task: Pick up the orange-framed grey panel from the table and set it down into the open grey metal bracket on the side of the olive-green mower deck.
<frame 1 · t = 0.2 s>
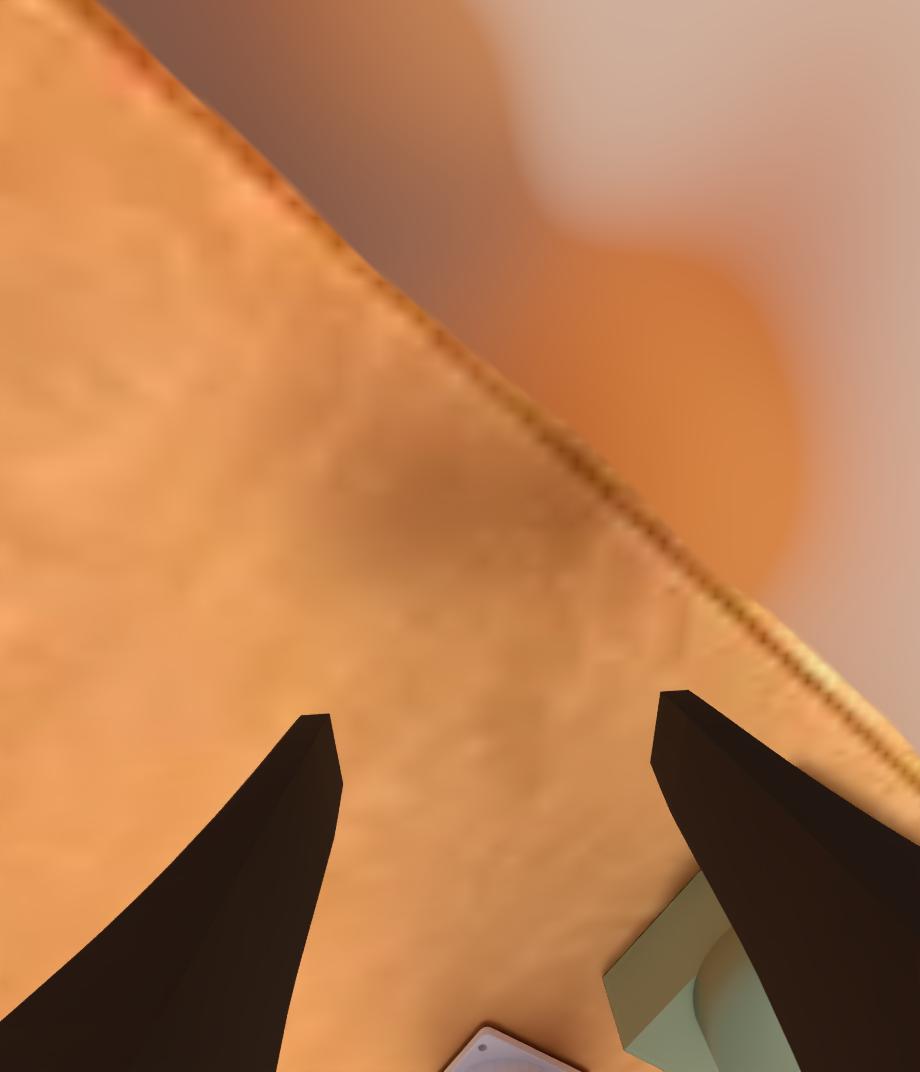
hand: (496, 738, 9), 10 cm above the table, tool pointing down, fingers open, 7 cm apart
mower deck: (824, 956, 24), on the table
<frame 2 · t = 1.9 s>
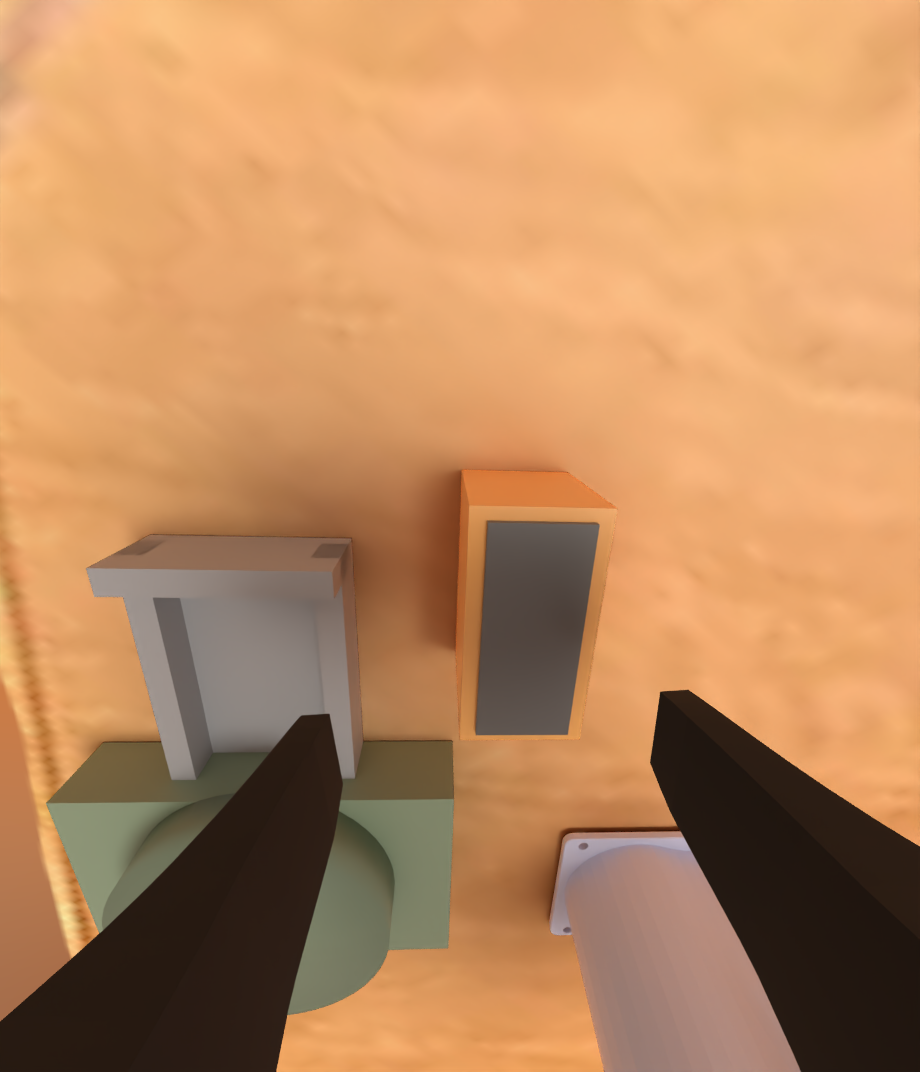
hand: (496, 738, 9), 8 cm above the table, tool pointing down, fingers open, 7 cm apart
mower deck: (281, 741, 20), on the table
orange-framed grey panel: (507, 567, 17), on the table
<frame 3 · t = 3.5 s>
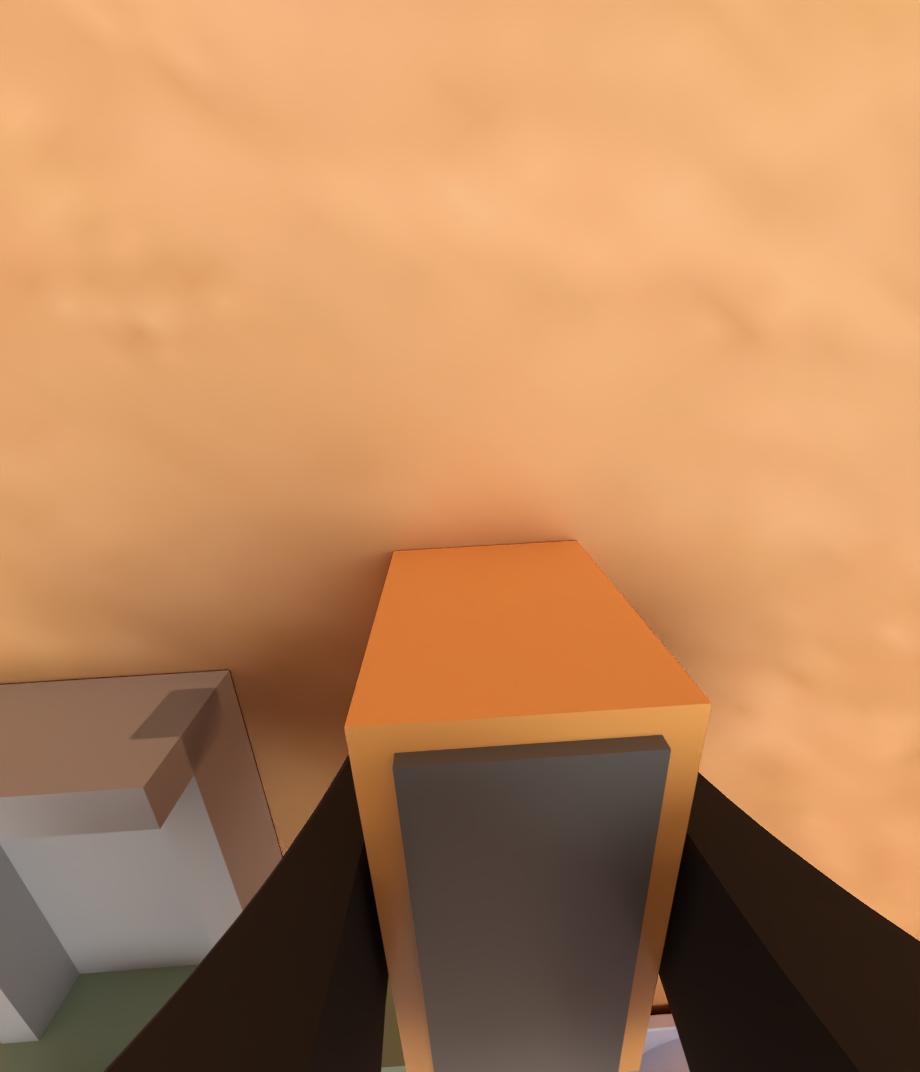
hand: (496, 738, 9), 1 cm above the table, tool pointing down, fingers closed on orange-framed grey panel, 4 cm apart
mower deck: (184, 942, 14), on the table
orange-framed grey panel: (489, 693, 11), on the table, touching gripper
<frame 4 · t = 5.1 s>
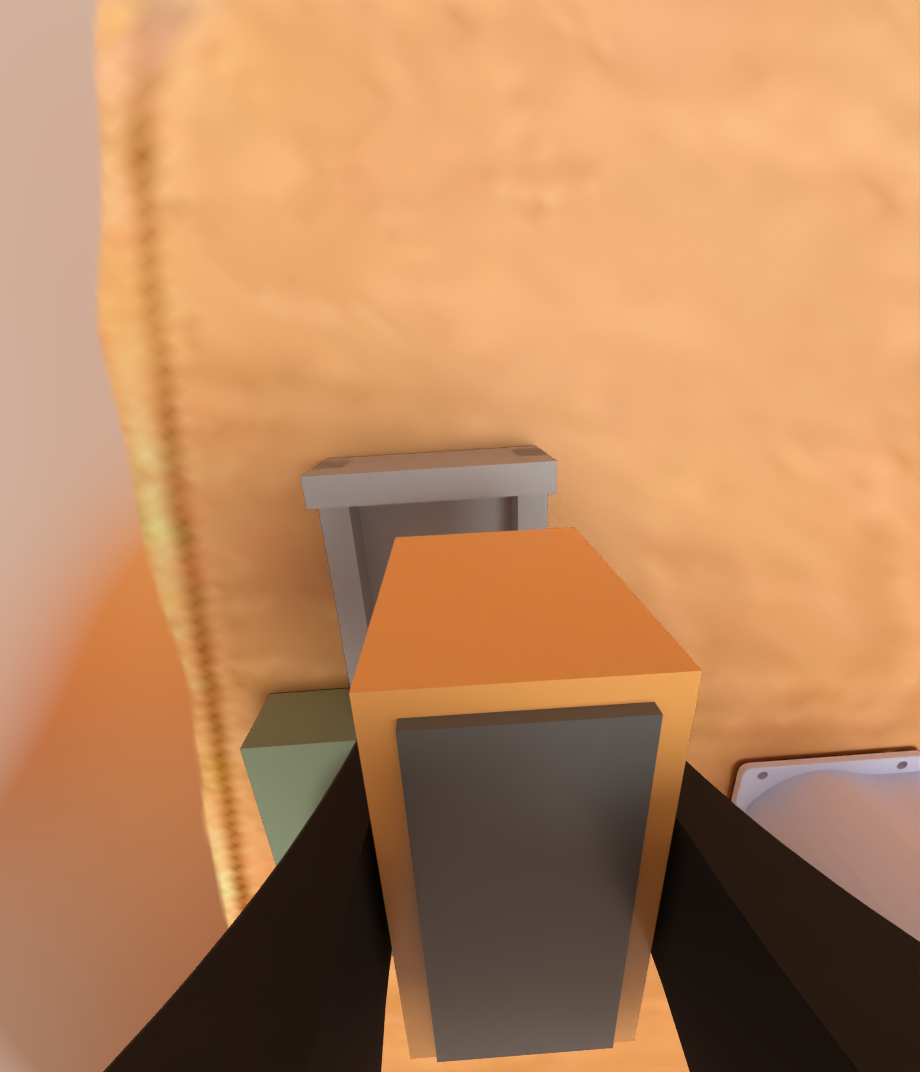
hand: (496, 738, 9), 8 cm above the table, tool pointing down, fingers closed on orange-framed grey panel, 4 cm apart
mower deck: (449, 681, 19), on the table
orange-framed grey panel: (489, 679, 11), point 7 cm above the table, touching gripper
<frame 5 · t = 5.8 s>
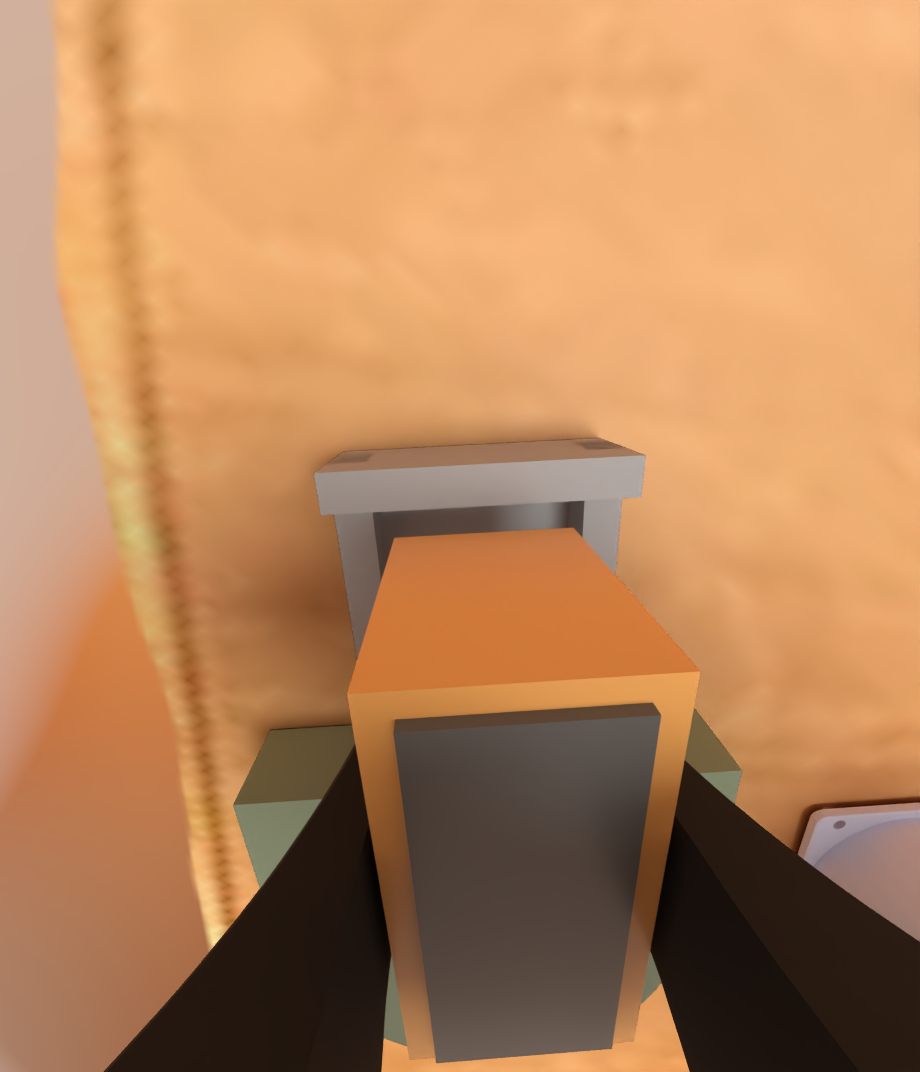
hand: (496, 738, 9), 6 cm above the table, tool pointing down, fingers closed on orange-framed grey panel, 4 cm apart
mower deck: (482, 716, 16), on the table
orange-framed grey panel: (488, 679, 11), point 4 cm above the table, touching gripper
when the fingers open (3 cm above the table, at t = 6.6 s): orange-framed grey panel drops 1 cm, resting on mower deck.
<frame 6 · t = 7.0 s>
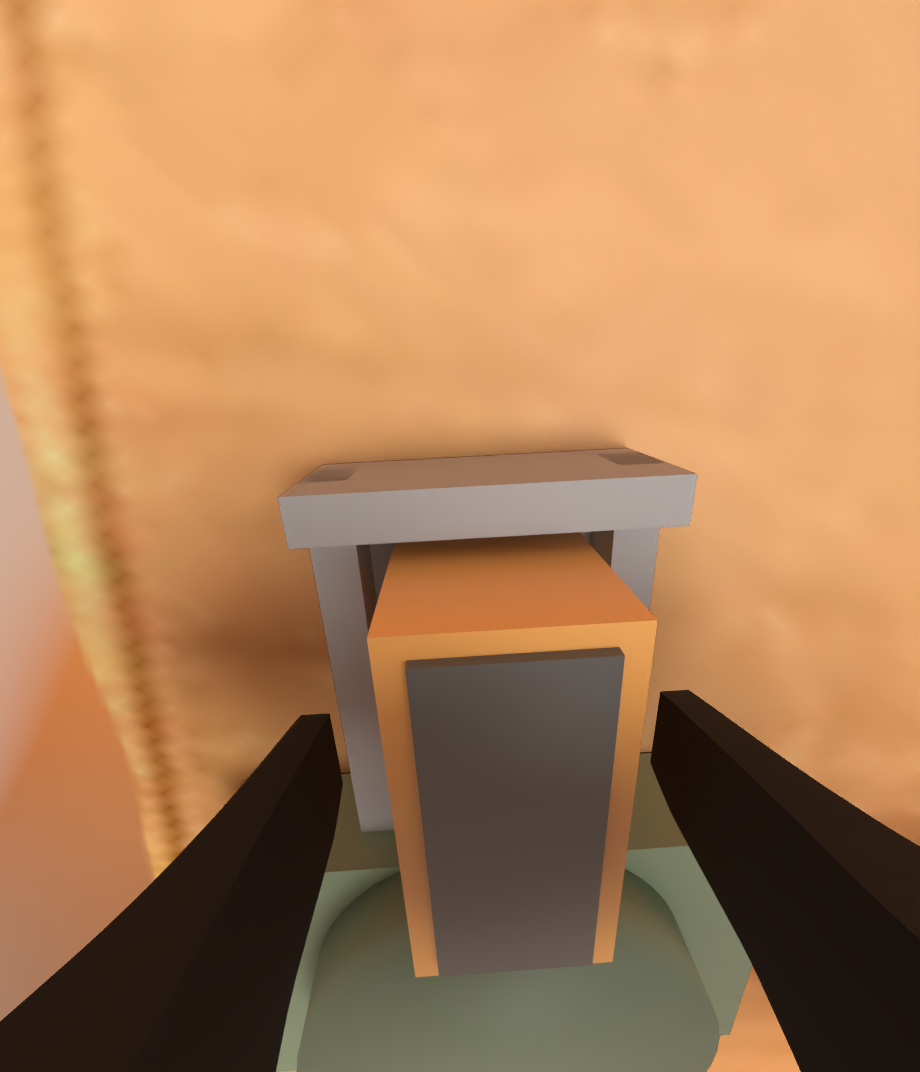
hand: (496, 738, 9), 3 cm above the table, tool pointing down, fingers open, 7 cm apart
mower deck: (486, 764, 14), on the table
orange-framed grey panel: (485, 653, 12), point 1 cm above the table, touching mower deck
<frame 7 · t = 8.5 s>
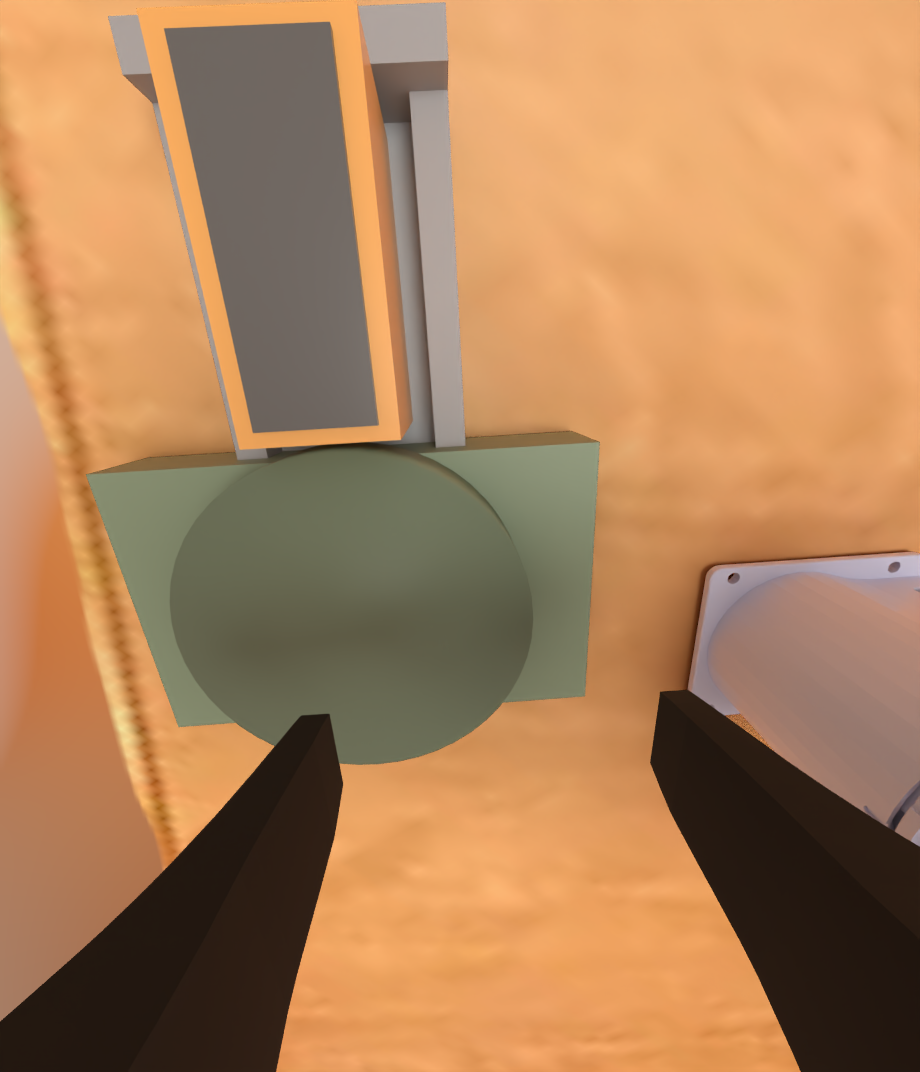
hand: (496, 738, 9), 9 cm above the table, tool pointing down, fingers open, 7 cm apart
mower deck: (362, 444, 16), on the table
orange-framed grey panel: (340, 298, 14), point 1 cm above the table, touching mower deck
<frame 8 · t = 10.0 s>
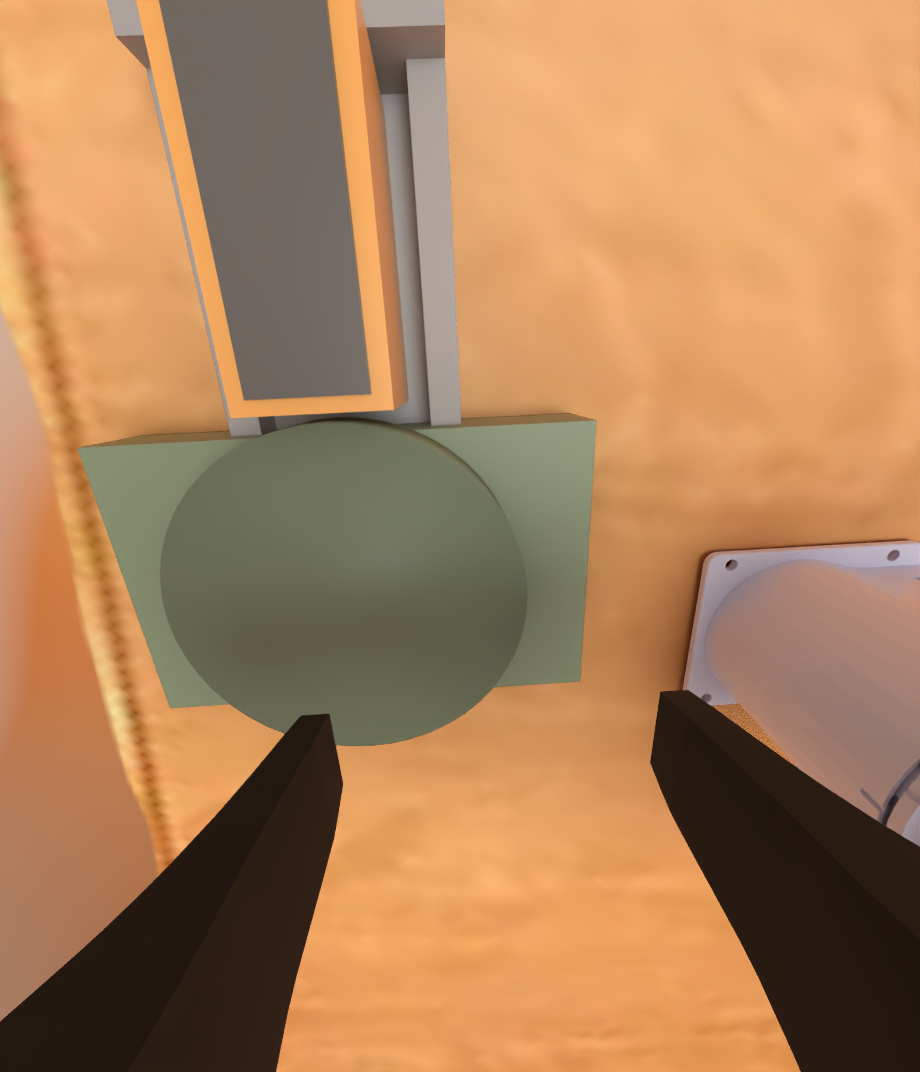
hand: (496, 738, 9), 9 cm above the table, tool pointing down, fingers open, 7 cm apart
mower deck: (357, 424, 16), on the table
orange-framed grey panel: (336, 273, 14), point 1 cm above the table, touching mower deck
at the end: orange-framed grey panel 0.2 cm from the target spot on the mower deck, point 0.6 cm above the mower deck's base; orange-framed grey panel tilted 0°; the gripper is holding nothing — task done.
